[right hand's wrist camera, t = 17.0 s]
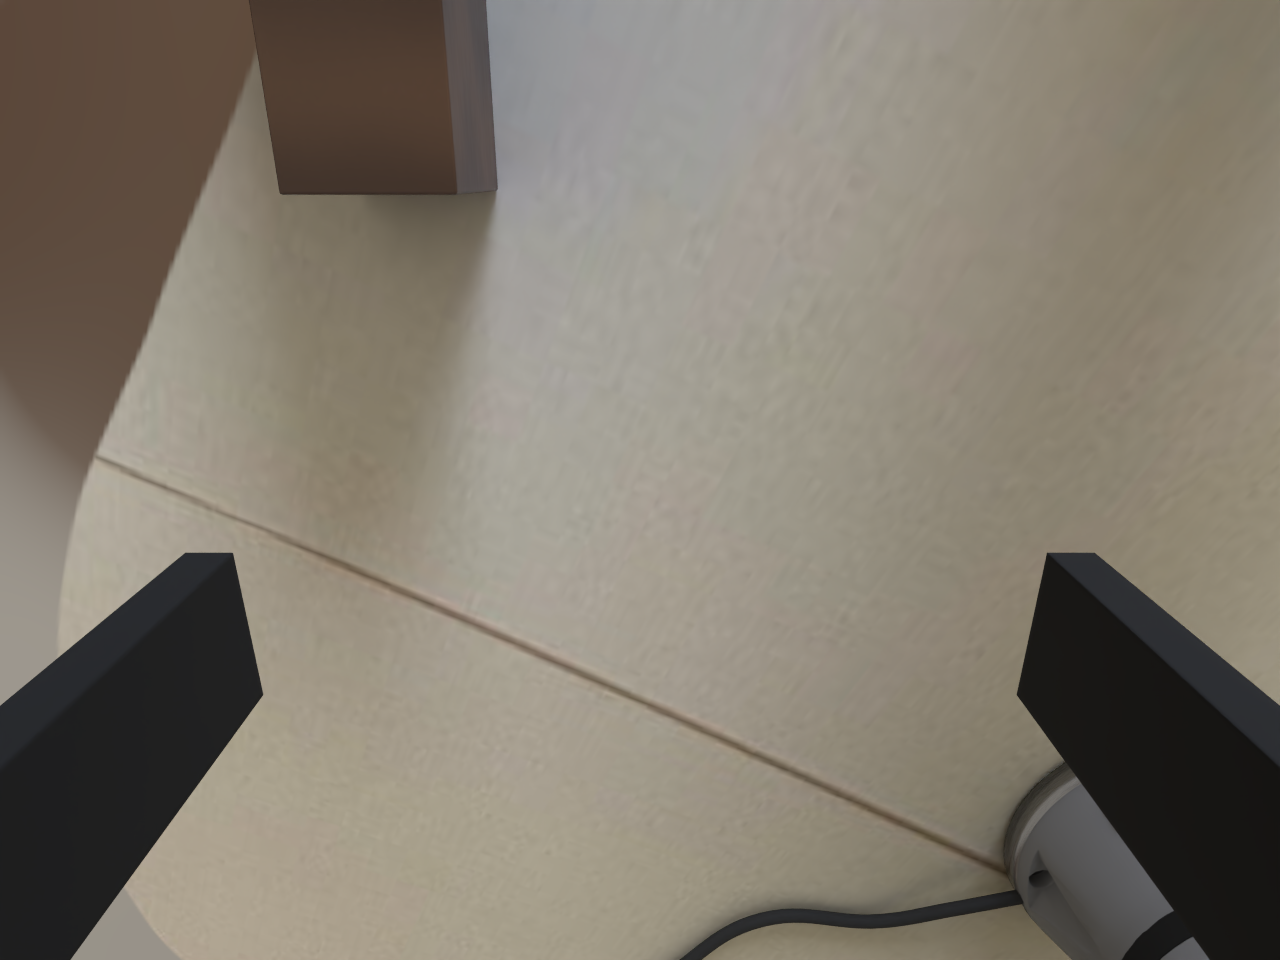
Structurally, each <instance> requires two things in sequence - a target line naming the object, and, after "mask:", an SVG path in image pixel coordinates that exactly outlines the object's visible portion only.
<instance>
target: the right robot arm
mask: <svg viewBox="0 0 1280 960" xmlns="http://www.w3.org/2000/svg"><path fill="white" fill-rule="evenodd" d="M262 696H263V691H262V687H261V682H260V677H259V673H258V668H257V663H256V659H255V654H254V649H253V645H252V640H251V635H250V631H249V626H248V621H247V617H246V612H245V607H244V603H243V598H242V593H241V589H240V584H239V579H238V575H237V570H236V565H235V561H234V556H233V553H185V554H183V555H182V556H181V557H180V558H179V559H177V560H176V561H175V562H174V563H172V564H171V565H170V566H169V567H168V568H166V569H165V570H164V571H163V572H162V573H160V574H159V575H158V576H157V577H156V578H154V579H153V580H152V581H151V582H149V583H148V584H147V585H146V586H145V587H143V588H142V589H141V590H140V591H139V592H137V593H136V594H135V595H134V596H133V597H131V598H130V599H129V600H128V601H126V602H125V603H124V604H123V605H122V606H120V607H119V608H118V609H117V610H116V611H114V612H113V613H112V614H111V615H110V616H108V617H107V618H106V619H105V620H103V621H102V622H101V623H100V624H99V625H97V626H96V627H95V628H94V629H93V630H91V631H90V632H89V633H88V634H87V635H85V636H84V637H83V638H82V639H80V640H79V641H78V642H77V643H76V644H74V645H73V646H72V647H71V648H70V649H68V650H67V651H66V652H65V653H64V654H62V655H61V656H60V657H59V658H57V659H56V660H55V661H54V662H53V663H51V664H50V665H49V666H48V667H47V668H45V669H44V670H43V671H42V672H41V673H39V674H38V675H37V676H36V677H34V678H33V679H32V680H31V681H30V682H28V683H27V684H26V685H25V686H24V687H22V688H21V689H20V690H19V691H17V692H16V693H15V694H14V695H13V696H11V697H10V698H9V699H8V700H7V701H5V702H4V703H3V704H2V705H1V706H0V960H71V958H72V957H73V955H74V954H75V953H76V951H77V950H78V948H79V947H80V946H81V944H82V943H83V942H84V940H85V939H86V938H87V936H88V935H89V933H90V932H91V931H92V929H93V928H94V927H95V925H96V924H97V922H98V921H99V920H100V918H101V917H102V915H103V914H104V913H105V911H106V910H107V909H108V907H109V906H110V905H111V903H112V902H113V900H114V899H115V898H116V896H117V895H118V894H119V892H120V891H121V890H122V888H123V887H124V885H125V884H126V883H127V881H128V880H129V879H130V877H131V876H132V874H133V873H134V872H135V870H136V869H137V868H138V866H139V865H140V863H141V862H142V861H143V859H144V858H145V857H146V855H147V854H148V852H149V851H150V850H151V848H152V847H153V846H154V844H155V843H156V841H157V840H158V839H159V837H160V836H161V835H162V833H163V832H164V830H165V829H166V828H167V826H168V825H169V824H170V822H171V821H172V819H173V818H174V817H175V815H176V814H177V813H178V811H179V810H180V808H181V807H182V806H183V804H184V803H185V802H186V800H187V799H188V797H189V796H190V795H191V793H192V792H193V791H194V789H195V788H196V786H197V785H198V784H199V782H200V781H201V780H202V778H203V777H204V775H205V774H206V773H207V771H208V770H209V769H210V767H211V766H212V765H213V763H214V762H215V760H216V759H217V758H218V756H219V755H220V754H221V752H222V751H223V749H224V748H225V747H226V745H227V744H228V743H229V741H230V740H231V738H232V737H233V736H234V734H235V733H236V732H237V730H238V729H239V727H240V726H241V725H242V723H243V722H244V721H245V719H246V718H247V716H248V715H249V714H250V712H251V711H252V710H253V708H254V707H255V705H256V704H257V703H258V701H259V700H260V699H261V697H262ZM1017 696H1018V697H1019V699H1020V700H1021V701H1022V703H1023V704H1024V705H1025V707H1026V708H1027V710H1028V711H1029V712H1030V714H1031V715H1032V716H1033V718H1034V719H1035V721H1036V722H1037V723H1038V725H1039V726H1040V727H1041V729H1042V730H1043V732H1044V733H1045V734H1046V736H1047V737H1048V738H1049V740H1050V741H1051V743H1052V744H1053V745H1054V747H1055V748H1056V749H1057V751H1058V752H1059V754H1060V755H1061V756H1062V758H1063V759H1064V760H1065V762H1066V763H1064V764H1063V765H1061V766H1060V767H1058V768H1057V769H1055V770H1054V771H1053V772H1051V773H1050V774H1049V775H1048V776H1046V777H1045V778H1044V779H1043V780H1042V781H1041V782H1040V783H1039V784H1038V785H1037V786H1035V787H1034V788H1033V789H1032V791H1031V792H1030V793H1029V794H1028V795H1027V796H1026V798H1025V799H1024V800H1023V802H1022V803H1021V805H1020V806H1019V807H1018V809H1017V811H1016V813H1015V814H1014V816H1013V818H1012V821H1011V823H1010V825H1009V828H1008V831H1007V834H1006V839H1005V845H1004V862H1005V867H1006V872H1007V875H1008V877H1009V880H1010V882H1011V884H1012V886H1013V888H1014V889H1015V890H1013V891H1007V892H1002V893H997V894H992V895H986V896H981V897H976V898H970V899H965V900H960V901H954V902H948V903H943V904H938V905H933V906H928V907H923V908H918V909H913V910H908V911H902V912H895V913H886V914H871V915H860V914H845V913H836V912H828V911H820V910H811V909H779V910H772V911H767V912H762V913H758V914H755V915H751V916H748V917H746V918H743V919H740V920H738V921H736V922H733V923H732V924H730V925H728V926H726V927H724V928H722V929H721V930H719V931H717V932H716V933H714V934H713V935H711V936H710V937H709V938H707V939H706V940H704V941H703V942H702V943H701V944H699V945H698V946H697V947H695V948H694V949H693V950H692V951H690V952H689V953H688V954H686V955H685V956H684V957H683V958H681V959H680V960H702V959H703V958H704V957H706V956H707V955H708V954H710V953H711V952H712V951H714V950H715V949H716V948H718V947H719V946H721V945H722V944H724V943H725V942H727V941H729V940H730V939H732V938H734V937H736V936H738V935H741V934H743V933H745V932H748V931H751V930H754V929H757V928H761V927H764V926H769V925H774V924H781V923H813V924H822V925H830V926H838V927H847V928H867V929H872V928H889V927H898V926H905V925H911V924H917V923H922V922H927V921H932V920H937V919H942V918H948V917H953V916H959V915H965V914H970V913H976V912H981V911H987V910H992V909H998V908H1003V907H1008V906H1014V905H1019V904H1022V905H1023V906H1024V908H1025V910H1026V912H1027V913H1028V914H1029V916H1030V917H1031V918H1032V920H1033V921H1034V922H1035V923H1036V924H1037V925H1038V926H1039V927H1040V928H1041V929H1042V930H1043V931H1044V932H1045V933H1046V934H1047V935H1048V936H1049V937H1050V938H1051V939H1052V940H1053V941H1054V942H1055V943H1056V944H1057V945H1058V946H1059V947H1060V948H1061V949H1062V950H1063V951H1064V952H1065V953H1066V954H1067V955H1068V956H1069V957H1070V958H1071V959H1072V960H1280V706H1279V705H1278V704H1277V703H1276V702H1275V701H1273V700H1272V699H1271V698H1270V697H1269V696H1267V695H1266V694H1265V693H1264V692H1263V691H1261V690H1260V689H1259V688H1258V687H1256V686H1255V685H1254V684H1253V683H1252V682H1250V681H1249V680H1248V679H1247V678H1246V677H1244V676H1243V675H1242V674H1241V673H1239V672H1238V671H1237V670H1236V669H1235V668H1233V667H1232V666H1231V665H1230V664H1229V663H1227V662H1226V661H1225V660H1224V659H1223V658H1221V657H1220V656H1219V655H1218V654H1216V653H1215V652H1214V651H1213V650H1212V649H1210V648H1209V647H1208V646H1207V645H1206V644H1204V643H1203V642H1202V641H1201V640H1200V639H1198V638H1197V637H1196V636H1195V635H1193V634H1192V633H1191V632H1190V631H1189V630H1187V629H1186V628H1185V627H1184V626H1183V625H1181V624H1180V623H1179V622H1178V621H1177V620H1175V619H1174V618H1173V617H1172V616H1170V615H1169V614H1168V613H1167V612H1166V611H1164V610H1163V609H1162V608H1161V607H1160V606H1158V605H1157V604H1156V603H1155V602H1154V601H1152V600H1151V599H1150V598H1149V597H1147V596H1146V595H1145V594H1144V593H1143V592H1141V591H1140V590H1139V589H1138V588H1137V587H1135V586H1134V585H1133V584H1132V583H1131V582H1129V581H1128V580H1127V579H1126V578H1124V577H1123V576H1122V575H1121V574H1120V573H1118V572H1117V571H1116V570H1115V569H1114V568H1112V567H1111V566H1110V565H1109V564H1108V563H1106V562H1105V561H1104V560H1103V559H1101V558H1100V557H1099V556H1098V555H1097V554H1095V553H1047V556H1046V561H1045V565H1044V570H1043V575H1042V579H1041V584H1040V589H1039V593H1038V598H1037V603H1036V607H1035V612H1034V617H1033V621H1032V626H1031V631H1030V635H1029V640H1028V645H1027V649H1026V654H1025V659H1024V663H1023V668H1022V673H1021V677H1020V682H1019V687H1018V691H1017Z"/></svg>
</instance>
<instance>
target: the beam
mask: <svg viewBox="0 0 1280 960" xmlns="http://www.w3.org/2000/svg"><path fill="white" fill-rule="evenodd" d="M249 3H250V9H251V16H252V22H253V28H254V34H255V41H256V47H257V53H258V60H259V66H260V72H261V78H262V85H263V91H264V97H265V103H266V110H267V116H268V122H269V129H270V135H271V141H272V147H273V154H274V160H275V166H276V173H277V179H278V185H279V191H280V194H283V195H457V194H467V193H477V192H487V191H496V190H497V189H498V188H497V172H496V156H495V140H494V124H493V108H492V92H491V76H490V60H489V44H488V28H487V12H486V0H249Z"/></svg>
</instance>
